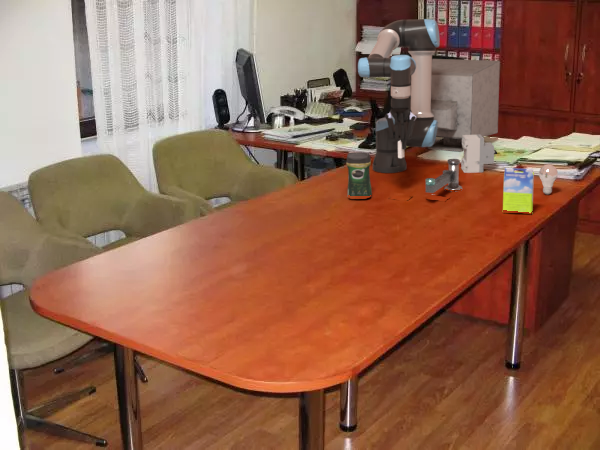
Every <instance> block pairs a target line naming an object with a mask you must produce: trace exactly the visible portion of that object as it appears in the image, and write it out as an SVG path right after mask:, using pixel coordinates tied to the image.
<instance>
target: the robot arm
mask: <svg viewBox="0 0 600 450" xmlns="http://www.w3.org/2000/svg"><path fill="white" fill-rule="evenodd" d="M440 37H441V36H440V30H439V26H438V23H437V21H436V20H435V19H429V18H427V19H426V18H423V19H421V18H419V19H400V20H396V21H393V22H391V23H390V22H389V24H387V25H385V26H384V27H383V28H382V29H381V30H380V31H379V33H378V35H377V38H376V43H375V44H374V46H373V48H372V50H371V51H370V54H369V55H368V56H367V57H361V58H359V59H358V62H357V72H358V73H357V74H358V75H359V77H361V78H368V79H369V78H390V96H391V98H390V111H389V113H386V114H385V115H384V117H382V118H378V119H377V121H376V122H375V129H374V130H375V149H376V150H375V155H374V158H373V162H372V170H373V172H377V173H382V174H393V173H400V172H405V171H406V170H407V168H408V167H407V166H408V165H407V162H406V159H405V150H406V149H407V148H408V147H413V148H414V147H415V148H420V147H421V148H428V147H431V146H432V145H433V144H434V143H436V142H435V141H436V138H437V137H436V134H437V127H438V122H437V120H434V115H433V114H432V113H431V73H432V59H433V55H434V54H435V53H436V49H437V48H439V47H440ZM397 48H398V49H399V48H401V49H402V48H408V49H407V52H408V53H409V54H398V55H397V54H396V55H392V54H393V52H394V51H395V50H396V49H397ZM391 55H392V56H391ZM410 55H411V56H410Z"/></svg>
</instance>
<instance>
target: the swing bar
mask: <svg viewBox="0 0 600 450" xmlns="http://www.w3.org/2000/svg"><path fill="white" fill-rule="evenodd" d="M456 178H457V171H450V170H448V169H444V170H442V174H441V175H439V176H437V177H436V178H433V177H427V178H425V193H428V194H429V193H430V194H434V193H436V192H437V191H439V190H441V188H443V187H445V186H447V185H448V183H449V182H455V181H456Z"/></svg>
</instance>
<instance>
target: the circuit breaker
mask: <svg viewBox="0 0 600 450" xmlns="http://www.w3.org/2000/svg"><path fill="white" fill-rule="evenodd" d="M462 136H463V137H462V146H463V149H464V150H463V157H462V158H461V160H460V161H461V162H460V163H461V170H462V171H463V173H464V174H465V173H467V174H470V173H471V174H472V173H474V174H475V173H484V165H485V164H486V165H487V164H488V165H489V164H494V163H495V155H497V154H498V151H497V149H495V145H494V144H493V143H492V142H491V141H490V142H485V137H482V136H481V134H480V135H462Z"/></svg>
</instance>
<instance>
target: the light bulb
mask: <svg viewBox="0 0 600 450" xmlns="http://www.w3.org/2000/svg"><path fill="white" fill-rule="evenodd" d="M558 175H559V173H558V169H557V167H556V166H554V165H553V164H545V165H542V166H541V168H540V169H539V172H538V177H539V179H540V180H541V183H542V186H543V188H542V192H543V194H545V195H547V196H548V195H549V196H550V194H551V193H552V192H553V186H554V183H555V181H556V180H557V178H558Z"/></svg>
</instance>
